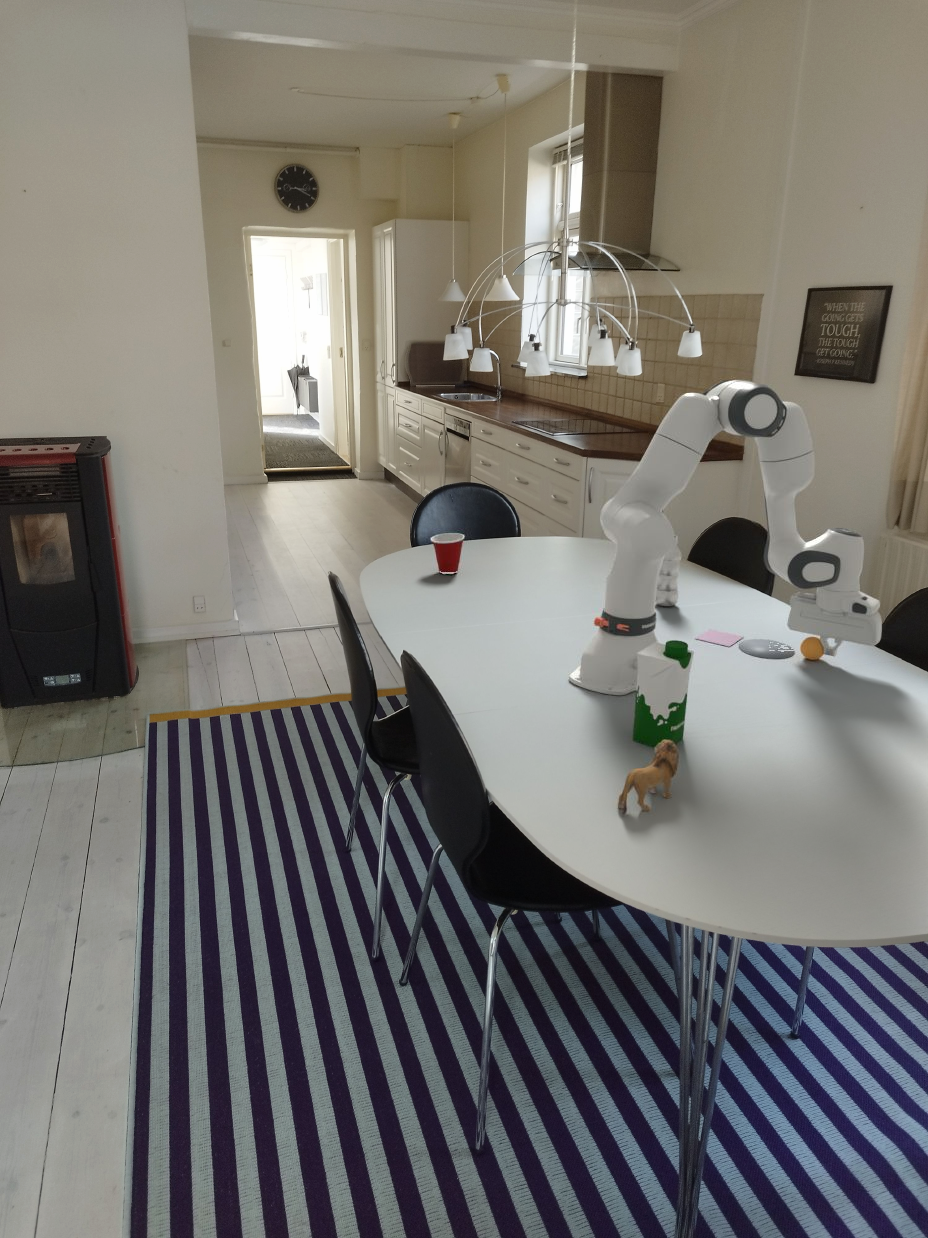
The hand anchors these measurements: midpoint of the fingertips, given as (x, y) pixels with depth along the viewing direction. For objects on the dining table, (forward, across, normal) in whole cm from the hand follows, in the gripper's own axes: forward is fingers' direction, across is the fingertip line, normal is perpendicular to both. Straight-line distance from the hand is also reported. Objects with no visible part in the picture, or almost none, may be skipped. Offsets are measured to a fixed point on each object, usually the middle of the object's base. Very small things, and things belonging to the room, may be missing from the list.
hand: (829, 654), depth 200 cm
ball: (-1, -4, 0) cm, 4 cm away
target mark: (+2, -15, 0) cm, 15 cm away
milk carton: (+1, -12, -61) cm, 63 cm away
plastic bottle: (+2, -50, +15) cm, 52 cm away
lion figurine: (+1, -4, -82) cm, 82 cm away
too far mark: (+2, -27, 0) cm, 27 cm away
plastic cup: (0, -119, +1) cm, 119 cm away
